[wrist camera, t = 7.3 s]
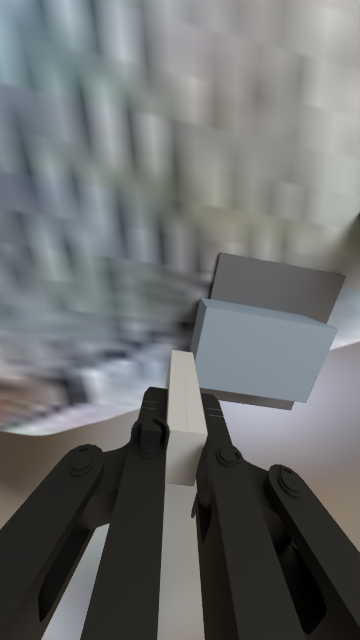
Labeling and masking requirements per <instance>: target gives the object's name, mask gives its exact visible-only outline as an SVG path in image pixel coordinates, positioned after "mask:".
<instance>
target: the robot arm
mask: <svg viewBox="0 0 360 640" xmlns="http://www.w3.org/2000/svg"><path fill="white" fill-rule="evenodd" d="M195 479H196V482H197V493H196V497H195V501H194V504H193V508H192V514H191V518H194V516H195V513H196V525H197V539H198V552H199V567H200V580H201V592H202V593H201V594H202V607H203V621H204V633H205V640H360V552H359V551H358V550H357V549H356V547H355V546H354V545H353V543H352V542H351V541H350V540H349V538H348V537H347V536H346V534H345V533H344V532H343V531H342V529H341V528H340V527H339V526H338V524H337V523H336V521H335V520H334V519H333V518H332V516H331V515H330V514H329V513H328V511H327V510H326V509H325V507H324V506H323V505H322V503H321V502H320V501H319V500H318V498H317V497H316V496H315V494H314V493H313V492H312V491H311V489H310V488H309V487H308V485H307V484H306V483H305V482H304V480H303V479H302V478H301V477H300V476H299V475H298V474H297V473H295V472H294V471H293V470H291V469H290V468H288V467H285V466H283V465H276V464H275V465H273V466H271V467H270V469H269V471H266V470H264V469H262V468H259V467H257V466H255V465H252V464H251V463H249V462H247V461H246V460H244V459H243V457H242V455H241V453H240V452H239V451H238V449H237V448H236V447H234V446H233V445H232V442H231V439H230V435H229V432H228V429H227V426H226V423H225V420H224V417H223V413H222V411H221V407H220V403H219V401H218V400H217V398H216V397H215V396H214V395H213V394H206V393H200V389H199V384H198V379H197V373H196V368H195V362H194V357H193V353H191V352H184V351H177V350H172V351H171V357H170V363H169V368H168V374H167V380H166V388H165V389H164V388H156V387H149V388H148V389H147V391H146V392H145V393H144V397H143V401H142V405H141V409H140V413H139V417H138V420H137V421H136V422H135V423H134V425H133V427H132V431H131V439H130V442H129V443H127V444H126V445H125V446H123V447H121V448H119V449H116V450H112V451H108V452H102V450H101V449H100V448H99V447H97V446H96V445H91V444H86V445H81V446H78V447H76V448H74V449H72V450H70V451H69V452H68V453H67V454H66V455H65V456H64V457H63V458H62V459H61V460H60V461H59V462H58V464H57V465H56V466H55V467H54V468H53V469H52V471H51V472H50V473H49V474H48V475H47V476H46V478H45V479H44V480H43V481H42V482H41V483H40V484H39V486H38V487H37V488H36V489H35V490H34V491H33V493H32V494H31V495H30V496H29V497H28V498H27V500H26V501H25V502H24V503H23V504H22V505H21V507H20V508H19V509H18V510H17V511H16V513H14V515H13V516H12V517H11V518H10V519H9V520H8V522H7V523H6V524H5V525H4V526H3V527H2V529H1V530H0V640H41V638H42V636H43V634H44V632H45V630H46V628H47V626H48V624H49V622H50V620H51V618H52V616H53V614H54V612H55V610H56V608H57V606H58V604H59V602H60V600H61V598H62V596H63V593H64V592H65V590H66V588H67V586H68V584H69V582H70V580H71V578H72V576H73V574H74V572H75V569H76V568H77V565H78V563H79V562H80V560H81V557H82V555H83V554H84V552H85V550H86V547H87V545H88V543H89V541H90V539H91V537H92V535H93V533H94V531H95V529H96V528H97V527H100V526H103V525H105V524H108V523H110V525H109V529H108V533H107V537H106V541H105V545H104V549H103V553H102V556H101V560H100V564H99V568H98V572H97V576H96V580H95V584H94V588H93V592H92V596H91V600H90V604H89V607H88V611H87V615H86V619H85V623H84V627H83V631H82V635H81V638H80V640H157V631H158V612H159V592H160V572H161V571H160V570H161V552H162V533H163V511H164V494H165V483H166V484H176V485H186V486H194V483H195Z"/></svg>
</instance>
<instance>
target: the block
mask: <svg viewBox="0 0 360 640" xmlns="http://www.w3.org/2000/svg"><path fill="white" fill-rule="evenodd" d="M337 331H338V329H336V328H334V327H331V326H329V325H326V324H324V323H321V322H319V321H316V320H314V319H311V318H309V317H306V316H304V315H300V314H294V313H288V312H282V311H276V310H270V309H265V308H259V307H253V306H247V305H241V304H235V303H229V302H223V301H218V300H212V299H206V298H200V302H199V307H198V312H197V316H196V321H195V326H194V331H193V336H192V341H191V346H190V351H189V352H191V353H193V357H194V362H195V368H196V373H197V379H198V384H199V388H206V389H213V390H220V391H227V392H234V393H241V394H248V395H255V396H262V397H268V398H275V399H282V400H289V401H296V402H303V403H306V402H307V400H308V398H309V395H310V393H311V391H312V388H313V386H314V383H315V381H316V379H317V376H318V374H319V372H320V370H321V368H322V365H323V362H324V361H325V358H326V356H327V354H328V351H329V349H330V347H331V344H332V342H333V340H334V338H335V335H336V333H337Z"/></svg>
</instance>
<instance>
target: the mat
mask: <svg viewBox="0 0 360 640" xmlns="http://www.w3.org/2000/svg"><path fill="white" fill-rule="evenodd" d="M345 277H346V276H345V275H339V274H334V273H328V272H323V271H318V270H312V269H307V268H301V267H296V266H291V265H285V264H280V263H274V262H269V261H264V260H258V259H253V258H247V257H242V256H237V255H231V254H226V253H220V254H219V258H218V263H217V267H216V272H215V277H214V281H213V286H212V290H211V295H210V299H212V300H218V301H223V302H229V303H235V304H241V305H247V306H253V307H259V308H265V309H270V310H276V311H282V312H288V313H294V314H300V315H304V316H306V317H309V318H311V319H314V320H316V321H319V322H321V323H324V324H327V321H328V319H329V316H330V314H331V311H332V309H333V307H334V304H335V302H336V299H337V297H338V294H339V292H340V290H341V287H342V285H343V282H344V280H345ZM199 389H200V393H206V394H213V395H214V396H215V397H216V398H217V400H222V401H228V402H236V403H242V404H249V405H257V406H264V407H271V408H278V409H285V410H291V409H292V406H293V404H294V402H295V401H289V400H282V399H275V398H268V397H262V396H255V395H248V394H241V393H234V392H227V391H220V390H213V389H206V388H199Z"/></svg>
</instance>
